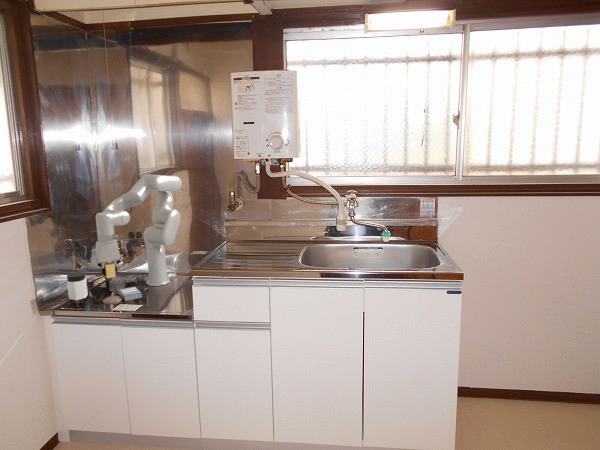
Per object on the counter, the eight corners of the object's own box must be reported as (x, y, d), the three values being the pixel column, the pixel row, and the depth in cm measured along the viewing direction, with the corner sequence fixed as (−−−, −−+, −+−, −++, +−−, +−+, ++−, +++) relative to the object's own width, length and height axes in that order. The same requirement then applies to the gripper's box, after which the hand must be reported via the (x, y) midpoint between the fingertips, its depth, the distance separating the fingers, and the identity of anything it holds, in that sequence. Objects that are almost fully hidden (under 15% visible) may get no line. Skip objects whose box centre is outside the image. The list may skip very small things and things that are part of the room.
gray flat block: (135, 290, 233) (135, 286, 233) (141, 297, 224) (141, 292, 223) (119, 294, 229) (119, 289, 228) (125, 301, 219) (124, 296, 219)
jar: (91, 295, 228) (89, 272, 226) (79, 300, 220) (76, 277, 218) (77, 293, 231) (75, 271, 228) (65, 299, 223) (62, 276, 221)
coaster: (120, 296, 226) (119, 294, 226) (124, 301, 219) (124, 300, 218) (101, 300, 221) (101, 298, 221) (105, 305, 214) (104, 304, 213)
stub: (113, 274, 220) (112, 262, 218) (115, 276, 216) (114, 264, 214) (104, 275, 217) (103, 263, 216) (107, 278, 213) (105, 266, 212)
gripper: (122, 234, 221) (125, 269, 225) (85, 239, 212) (89, 275, 215) (126, 237, 215) (129, 273, 219) (88, 241, 206) (92, 279, 209)
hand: (109, 274), depth 217 cm, fingers closed on stub, 4 cm apart
